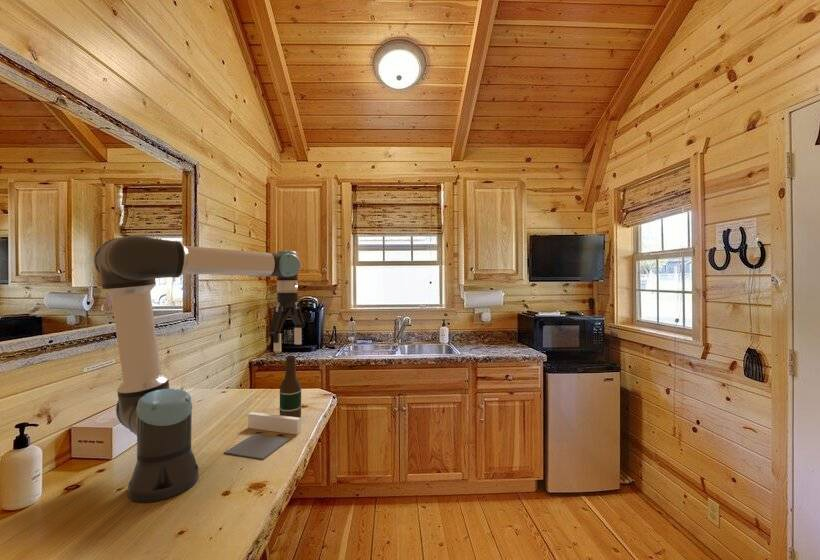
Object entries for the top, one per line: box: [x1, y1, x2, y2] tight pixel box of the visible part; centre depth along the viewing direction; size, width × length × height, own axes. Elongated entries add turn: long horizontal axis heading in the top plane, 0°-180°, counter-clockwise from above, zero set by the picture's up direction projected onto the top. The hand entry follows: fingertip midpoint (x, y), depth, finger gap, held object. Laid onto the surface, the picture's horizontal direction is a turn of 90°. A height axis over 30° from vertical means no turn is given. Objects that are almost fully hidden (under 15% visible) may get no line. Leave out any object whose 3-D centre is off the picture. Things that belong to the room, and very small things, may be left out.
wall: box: [247, 411, 302, 435], centre depth 127 cm, size 2×20×5 cm, turn 75°
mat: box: [223, 432, 292, 461], centre depth 115 cm, size 14×14×1 cm
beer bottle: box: [279, 355, 302, 419], centre depth 137 cm, size 8×8×24 cm
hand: (288, 347), depth 137 cm, fingers open, 13 cm apart
